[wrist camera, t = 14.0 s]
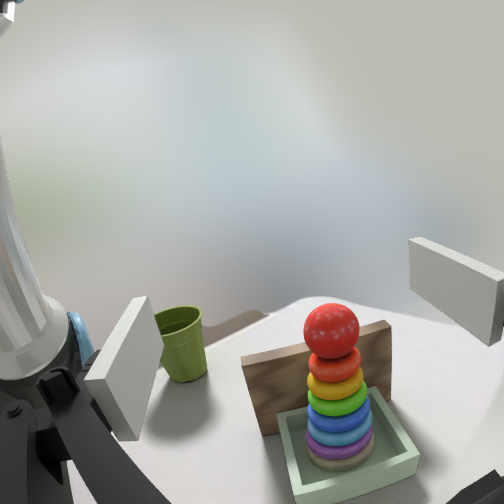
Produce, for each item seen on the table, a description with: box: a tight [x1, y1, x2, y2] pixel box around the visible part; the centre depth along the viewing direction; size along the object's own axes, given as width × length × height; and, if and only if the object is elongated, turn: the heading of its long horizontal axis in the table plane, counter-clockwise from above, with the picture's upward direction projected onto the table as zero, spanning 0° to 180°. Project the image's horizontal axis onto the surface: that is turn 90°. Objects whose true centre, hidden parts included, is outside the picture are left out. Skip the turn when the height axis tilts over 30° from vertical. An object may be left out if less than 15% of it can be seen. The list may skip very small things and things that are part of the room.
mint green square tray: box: [276, 386, 420, 504], centre depth 30 cm, size 13×13×4 cm
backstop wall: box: [241, 320, 392, 436], centre depth 37 cm, size 18×2×12 cm, turn 93°
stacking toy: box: [304, 303, 375, 471], centre depth 29 cm, size 8×8×19 cm
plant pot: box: [154, 305, 207, 383], centre depth 55 cm, size 12×12×11 cm
